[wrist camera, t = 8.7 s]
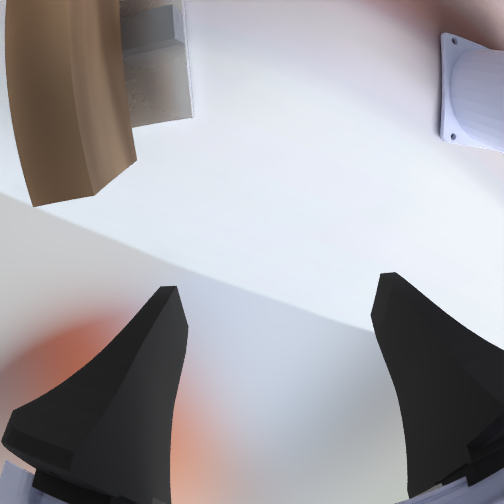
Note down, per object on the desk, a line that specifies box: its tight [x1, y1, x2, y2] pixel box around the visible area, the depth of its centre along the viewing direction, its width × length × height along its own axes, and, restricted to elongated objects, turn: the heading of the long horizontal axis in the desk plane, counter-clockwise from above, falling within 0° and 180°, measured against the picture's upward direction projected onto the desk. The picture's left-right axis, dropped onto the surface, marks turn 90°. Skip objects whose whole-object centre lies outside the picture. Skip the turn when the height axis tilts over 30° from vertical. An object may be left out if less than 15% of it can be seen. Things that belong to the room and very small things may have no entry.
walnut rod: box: [5, 0, 137, 207], centre depth 9 cm, size 4×14×5 cm, turn 4°
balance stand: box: [119, 0, 194, 128], centre depth 12 cm, size 9×11×3 cm
